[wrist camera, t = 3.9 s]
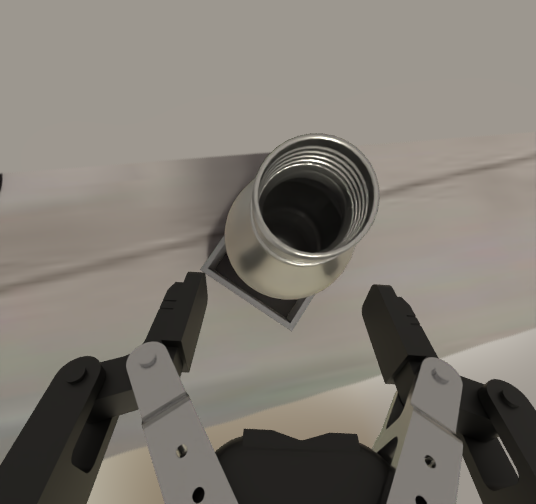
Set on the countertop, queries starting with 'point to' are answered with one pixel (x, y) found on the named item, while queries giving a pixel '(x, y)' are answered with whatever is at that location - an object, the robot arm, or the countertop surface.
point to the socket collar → (286, 322)
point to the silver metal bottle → (302, 216)
